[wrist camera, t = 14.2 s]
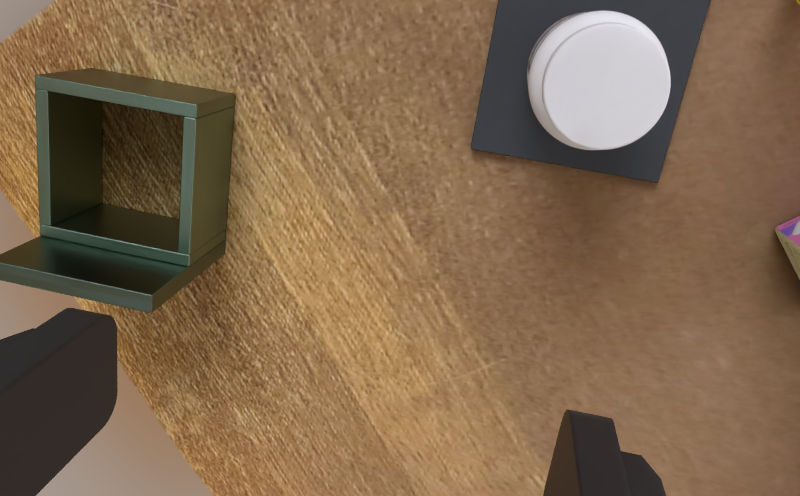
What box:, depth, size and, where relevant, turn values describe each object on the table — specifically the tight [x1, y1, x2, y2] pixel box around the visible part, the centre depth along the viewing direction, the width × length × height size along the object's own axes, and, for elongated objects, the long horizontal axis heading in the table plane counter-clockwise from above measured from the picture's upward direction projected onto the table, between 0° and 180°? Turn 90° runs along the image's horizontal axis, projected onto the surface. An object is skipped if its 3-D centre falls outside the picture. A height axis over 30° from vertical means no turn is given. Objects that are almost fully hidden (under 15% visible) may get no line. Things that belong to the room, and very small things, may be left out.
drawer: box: [0, 68, 235, 313], centre depth 37 cm, size 10×9×9 cm
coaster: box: [471, 0, 710, 183], centre depth 35 cm, size 10×10×1 cm
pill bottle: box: [527, 10, 671, 150], centre depth 31 cm, size 6×6×10 cm
